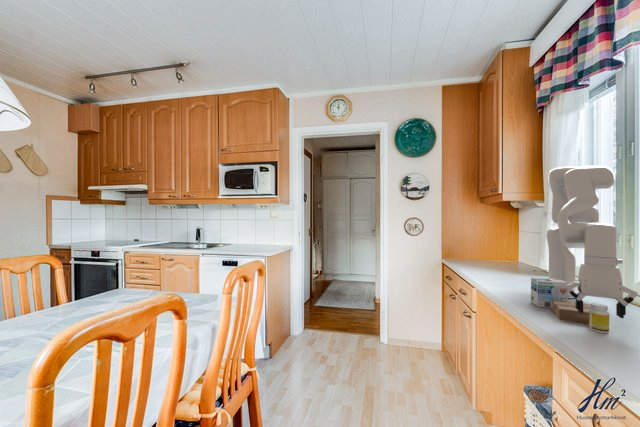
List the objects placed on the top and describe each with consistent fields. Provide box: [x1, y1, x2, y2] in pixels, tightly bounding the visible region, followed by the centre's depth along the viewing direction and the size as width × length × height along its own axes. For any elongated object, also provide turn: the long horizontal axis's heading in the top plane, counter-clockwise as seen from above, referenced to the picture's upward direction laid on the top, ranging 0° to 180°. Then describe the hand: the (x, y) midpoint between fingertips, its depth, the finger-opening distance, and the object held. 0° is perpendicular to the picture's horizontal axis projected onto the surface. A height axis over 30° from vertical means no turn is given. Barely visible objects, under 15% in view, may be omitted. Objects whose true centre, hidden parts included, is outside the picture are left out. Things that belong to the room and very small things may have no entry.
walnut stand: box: [551, 300, 592, 325], centre depth 105 cm, size 12×12×4 cm
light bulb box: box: [530, 276, 569, 309], centre depth 119 cm, size 11×7×11 cm, turn 74°
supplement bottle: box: [588, 302, 610, 334], centre depth 94 cm, size 5×5×8 cm
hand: (599, 314), depth 94 cm, fingers open, 9 cm apart
